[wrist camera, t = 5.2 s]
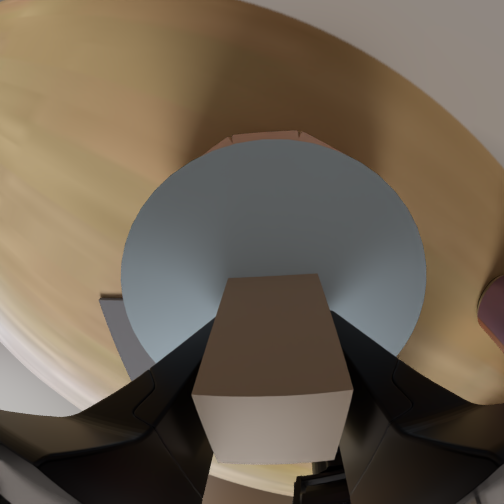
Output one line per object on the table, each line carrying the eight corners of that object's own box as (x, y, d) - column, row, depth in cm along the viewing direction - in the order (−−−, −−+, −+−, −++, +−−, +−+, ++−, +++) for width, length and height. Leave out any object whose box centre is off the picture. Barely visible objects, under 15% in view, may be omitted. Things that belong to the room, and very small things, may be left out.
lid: (387, 381, 12) (422, 480, 6) (170, 390, 13) (134, 488, 7) (419, 142, 8) (553, 156, 2) (111, 163, 9) (-23, 196, 3)
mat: (230, 400, 25) (229, 403, 25) (139, 392, 26) (138, 395, 26) (209, 297, 21) (208, 300, 21) (101, 297, 22) (98, 300, 21)
